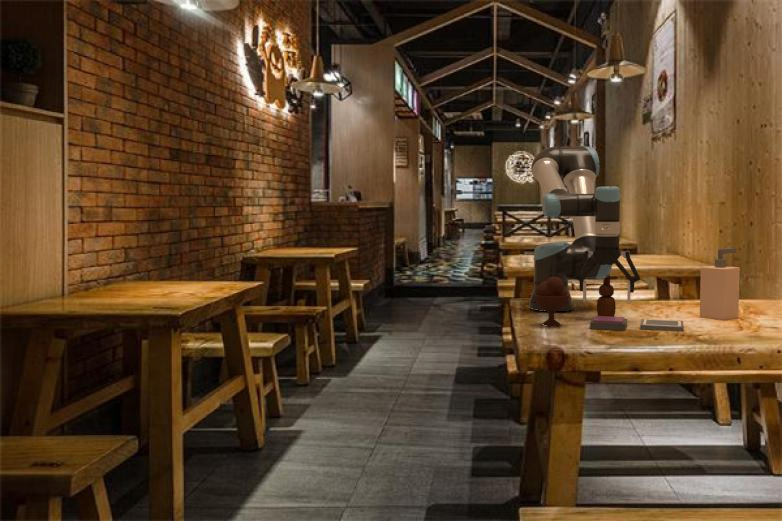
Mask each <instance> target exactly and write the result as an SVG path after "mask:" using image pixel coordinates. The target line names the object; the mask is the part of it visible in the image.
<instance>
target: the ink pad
mask: <svg viewBox="0 0 782 521" xmlns="http://www.w3.org/2000/svg"><path fill="white" fill-rule="evenodd" d="M627 327H628V318H625V317H624V316H614V317H610V316H598V315H596V316H595V317H593V318H592V319H591V321H590V322H589V330H601V331H619V332H620V331H622V332H625V331H626V330H627Z"/></svg>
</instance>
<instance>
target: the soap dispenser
mask: <svg viewBox="0 0 782 521" xmlns="http://www.w3.org/2000/svg"><path fill="white" fill-rule="evenodd" d="M734 253H735V254H736V253H737V248H736V247H729V248H719V249H717V258H715V259H714V265H710V266H701V267H700V283H699V285H700V287H699V288H700V289H699V291H700V292H699V295H700V296H699V318H702V317H704V318H703V319H710V318H711V320H712V319H713V320H719V321H728V320H733V319H738V318H739V310H740V307H739V306H740V305H739V304H740V303H739V302H740V275H741V274H740V273H741V270H740V269H741V267H737V266H728V265H727V258H724V255H728V254H734Z"/></svg>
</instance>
